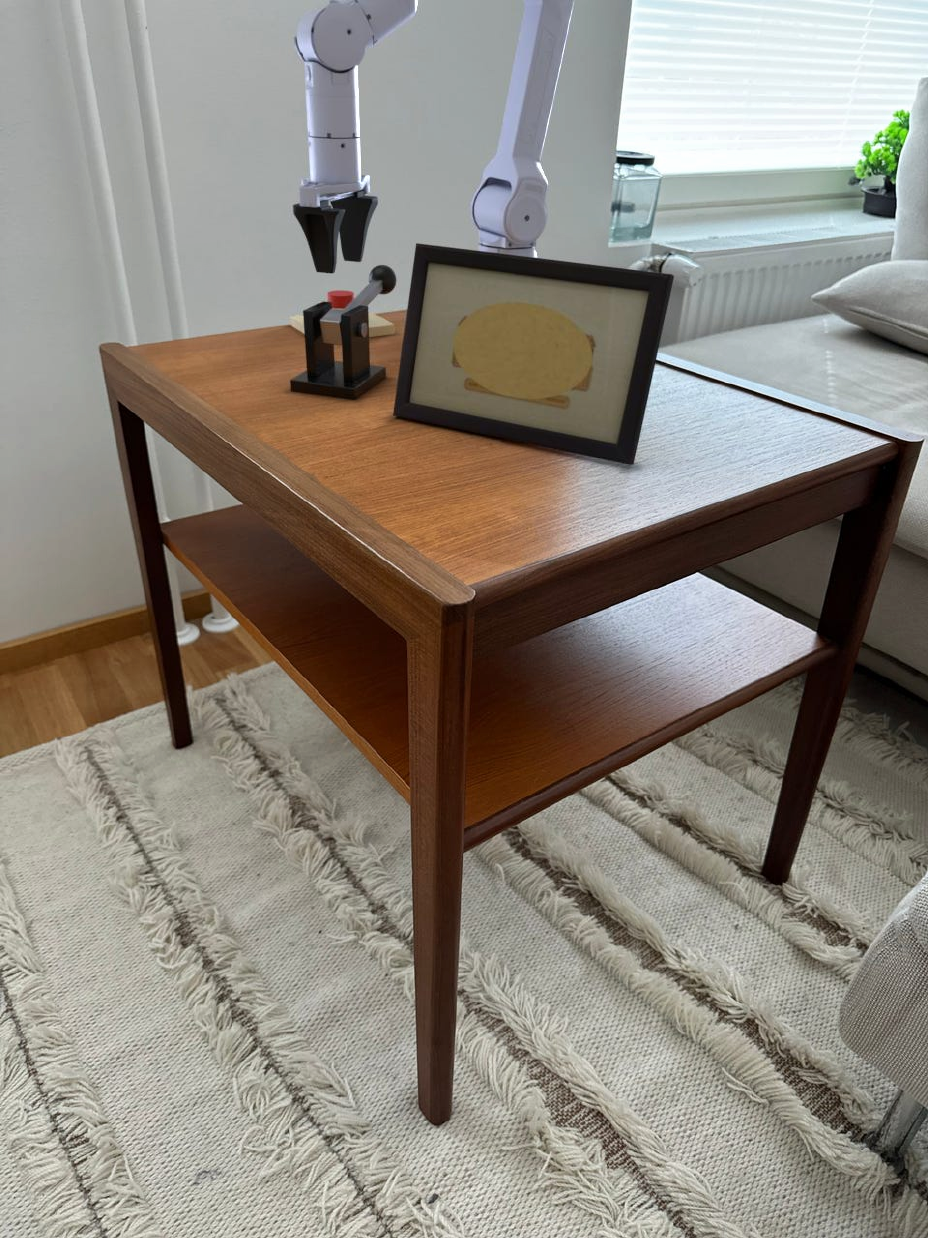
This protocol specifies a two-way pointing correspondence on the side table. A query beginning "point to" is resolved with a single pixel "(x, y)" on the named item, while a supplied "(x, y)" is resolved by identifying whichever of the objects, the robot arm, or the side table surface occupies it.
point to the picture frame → (531, 349)
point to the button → (340, 298)
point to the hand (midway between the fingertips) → (339, 266)
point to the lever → (357, 302)
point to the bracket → (338, 375)
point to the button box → (376, 324)
